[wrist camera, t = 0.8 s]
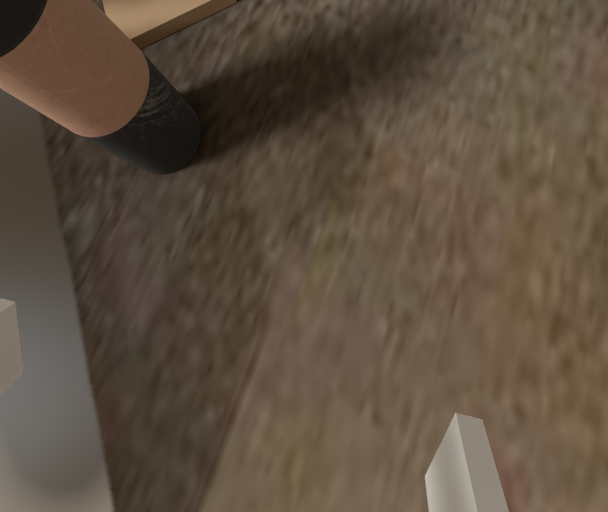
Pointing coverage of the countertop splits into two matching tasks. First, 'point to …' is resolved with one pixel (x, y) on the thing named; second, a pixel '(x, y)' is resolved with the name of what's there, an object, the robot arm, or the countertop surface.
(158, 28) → the wooden cutting board
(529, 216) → the countertop surface
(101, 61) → the travel mug
